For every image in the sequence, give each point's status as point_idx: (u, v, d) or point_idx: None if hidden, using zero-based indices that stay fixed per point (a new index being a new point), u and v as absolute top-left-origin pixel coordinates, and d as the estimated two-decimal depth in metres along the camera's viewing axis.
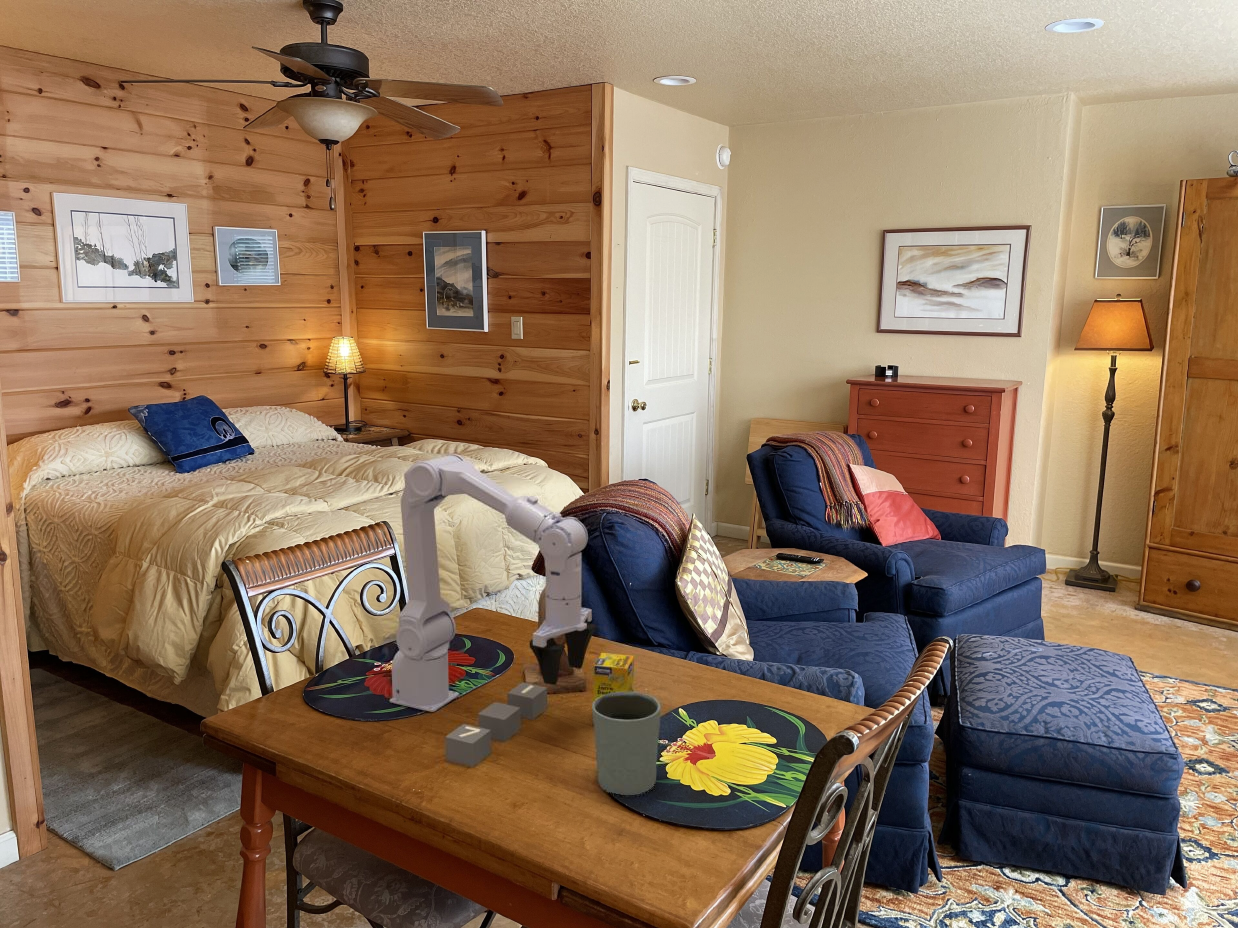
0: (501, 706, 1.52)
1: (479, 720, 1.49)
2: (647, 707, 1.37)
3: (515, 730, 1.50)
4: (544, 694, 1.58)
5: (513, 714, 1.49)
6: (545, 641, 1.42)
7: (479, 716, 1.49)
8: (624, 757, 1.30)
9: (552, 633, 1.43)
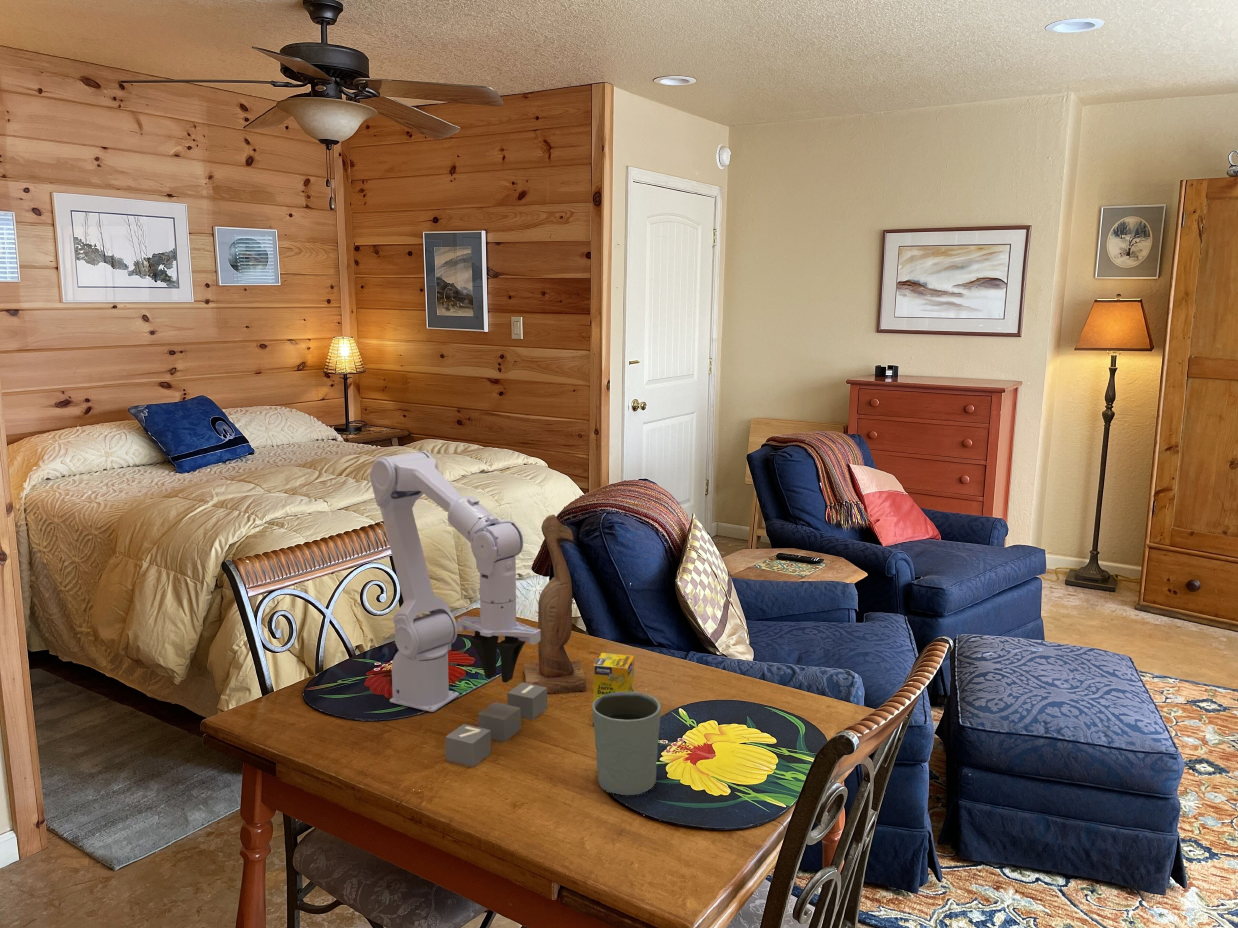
0: (501, 706, 1.52)
1: (479, 720, 1.49)
2: (647, 707, 1.37)
3: (515, 730, 1.50)
4: (544, 694, 1.58)
5: (513, 714, 1.49)
6: (460, 626, 1.49)
7: (479, 716, 1.49)
8: (624, 757, 1.30)
9: (466, 623, 1.48)
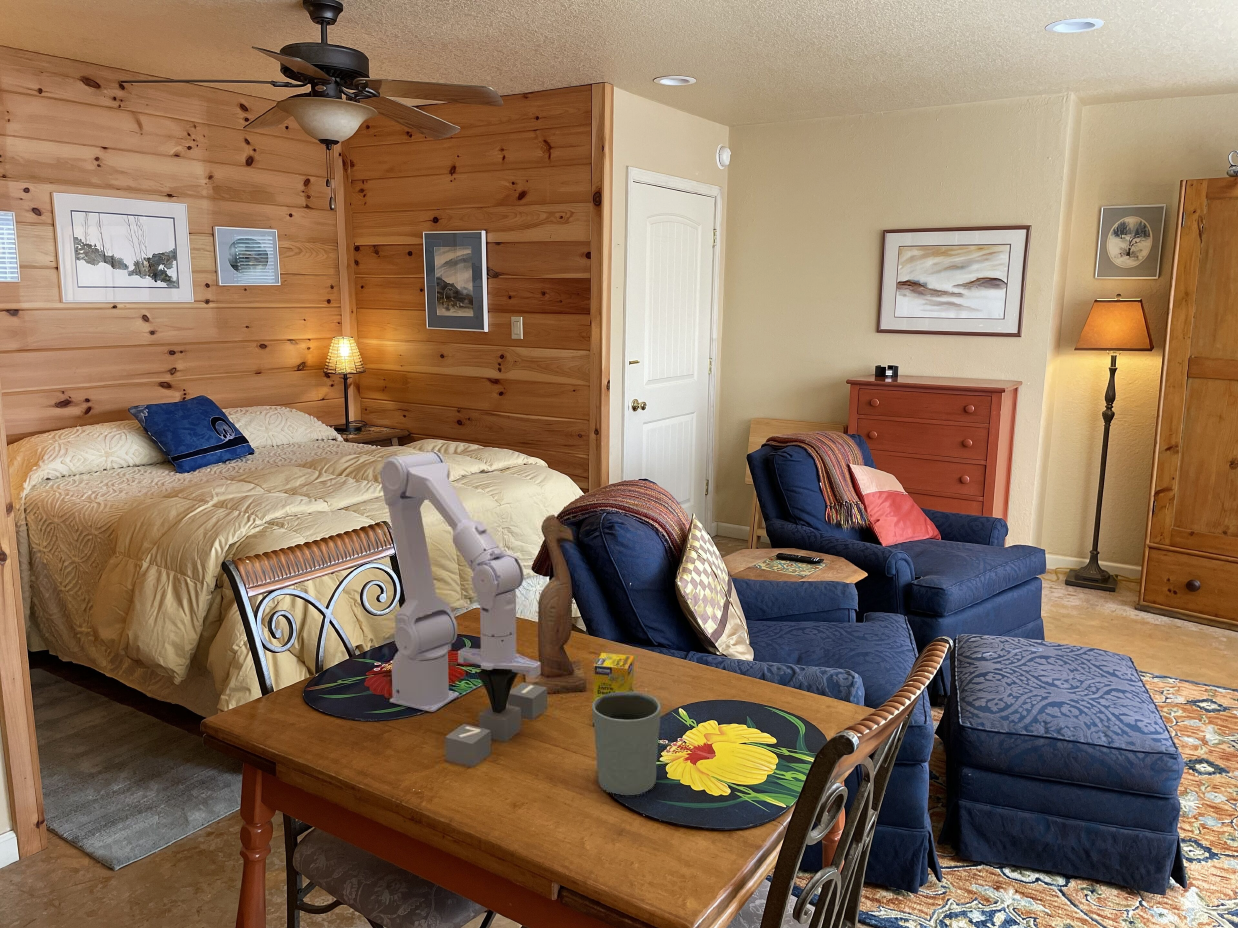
0: None
1: (480, 720, 1.49)
2: (647, 707, 1.37)
3: (515, 730, 1.50)
4: (544, 694, 1.58)
5: (514, 714, 1.49)
6: (461, 658, 1.50)
7: (480, 716, 1.49)
8: (624, 757, 1.30)
9: (466, 655, 1.49)
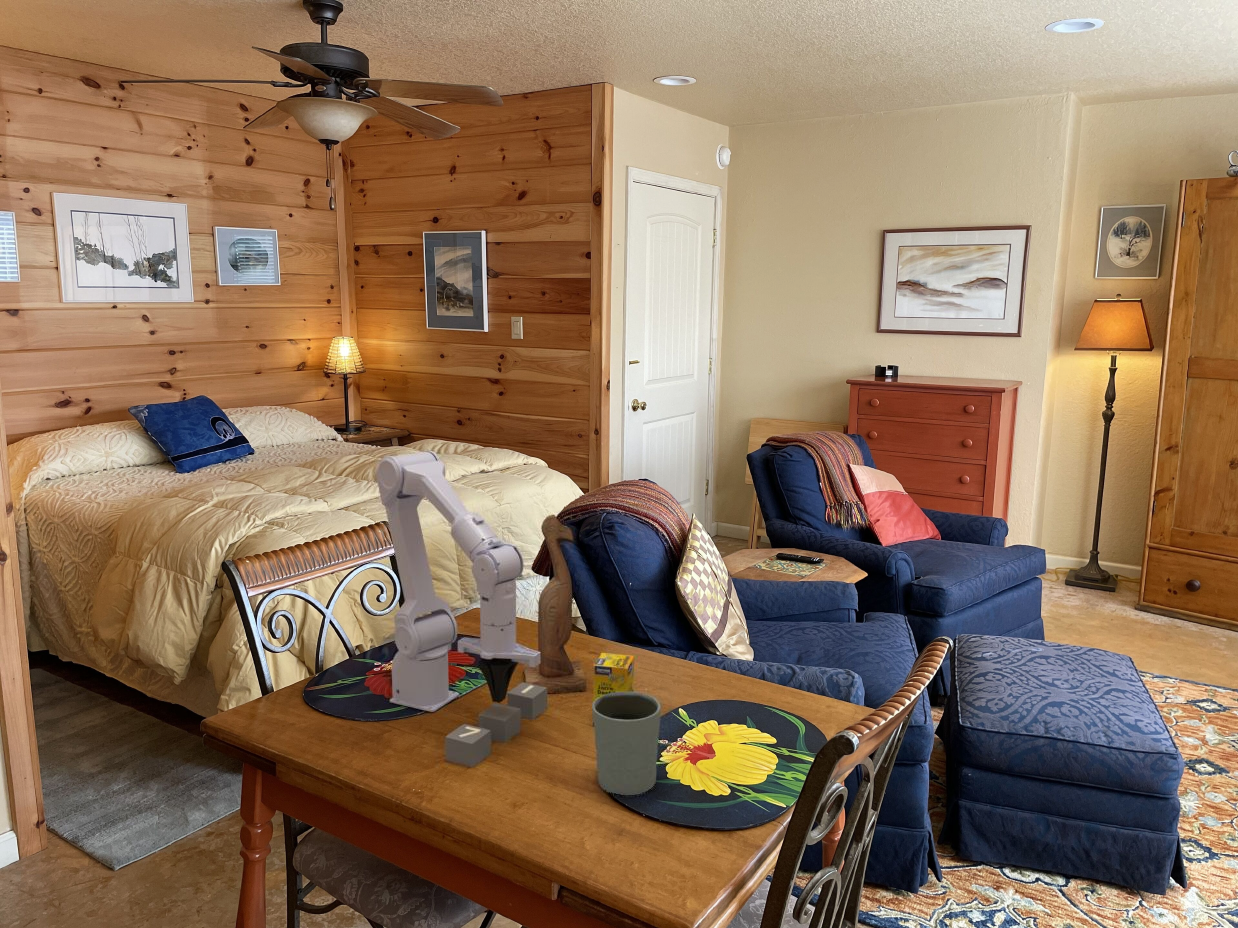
0: (501, 707, 1.51)
1: (479, 721, 1.48)
2: (647, 707, 1.37)
3: (515, 731, 1.50)
4: (544, 694, 1.58)
5: (514, 715, 1.49)
6: (460, 648, 1.50)
7: (479, 717, 1.48)
8: (624, 757, 1.30)
9: (466, 644, 1.49)
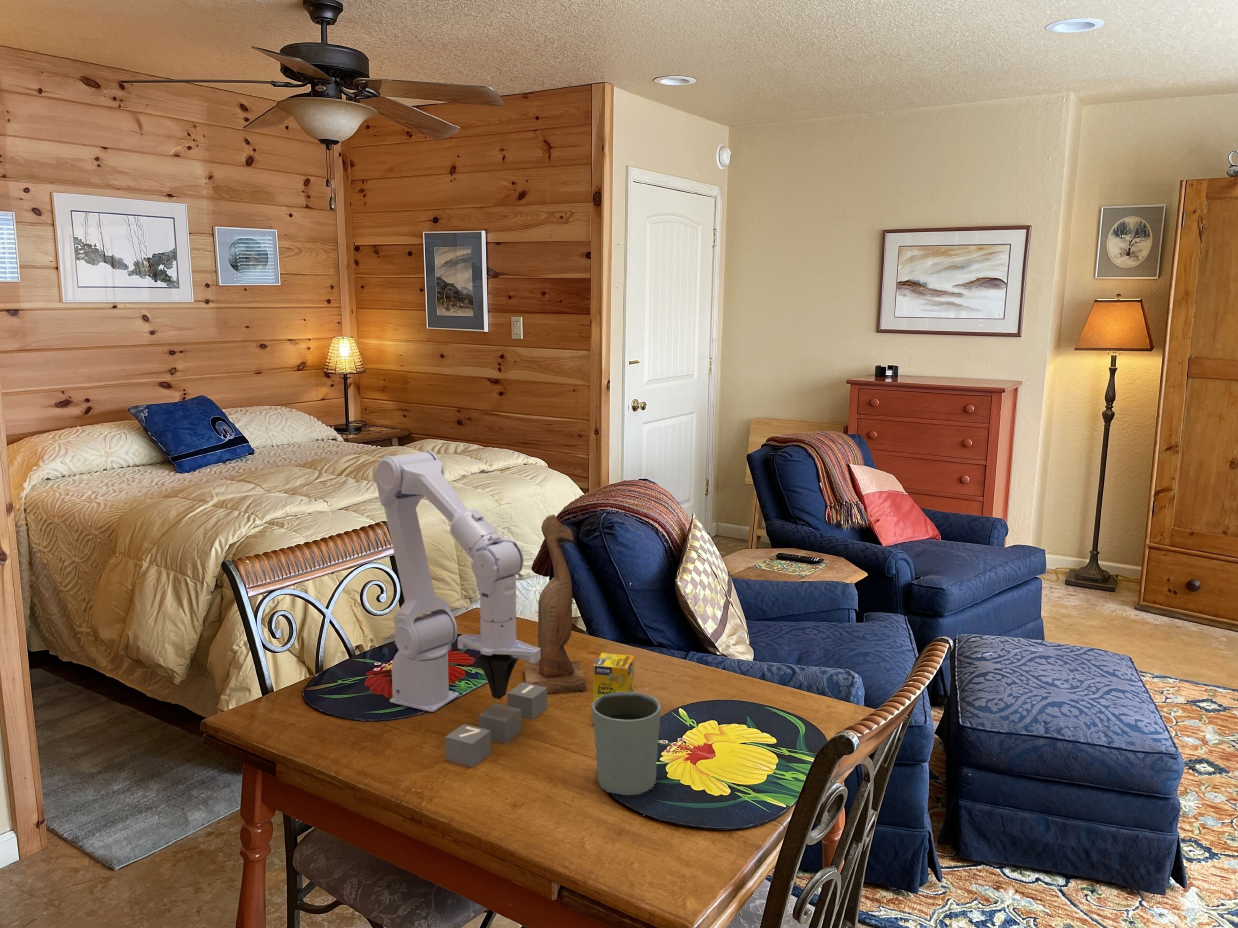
0: (501, 707, 1.51)
1: (480, 722, 1.48)
2: (647, 707, 1.37)
3: (516, 732, 1.50)
4: (544, 694, 1.58)
5: (514, 715, 1.49)
6: (460, 644, 1.50)
7: (480, 718, 1.48)
8: (624, 757, 1.30)
9: (466, 641, 1.49)
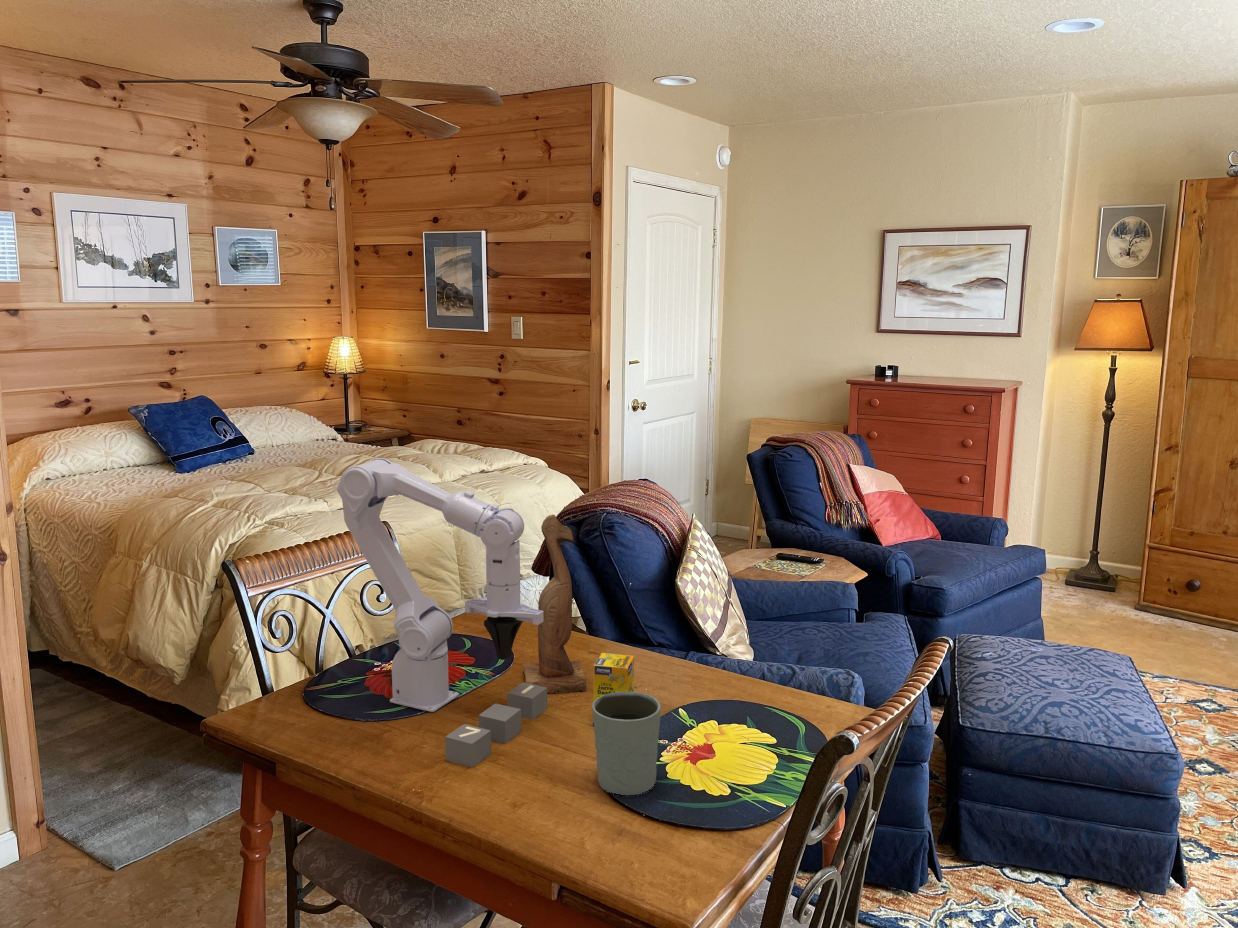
0: (501, 707, 1.51)
1: (480, 722, 1.48)
2: (647, 707, 1.37)
3: (516, 732, 1.50)
4: (544, 694, 1.58)
5: (514, 715, 1.49)
6: (467, 608, 1.58)
7: (480, 718, 1.48)
8: (624, 757, 1.30)
9: (473, 605, 1.57)
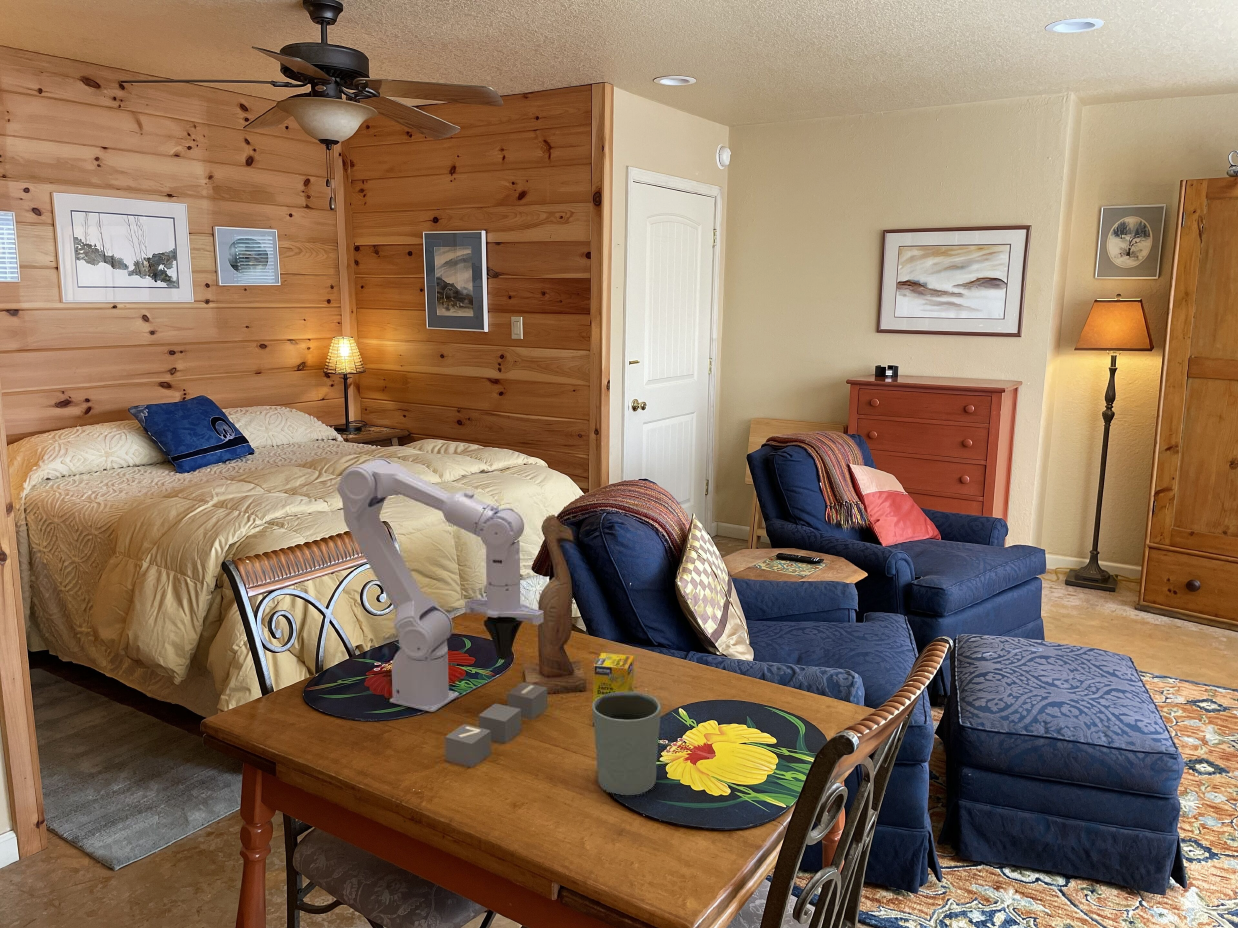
0: (501, 707, 1.51)
1: (480, 722, 1.48)
2: (647, 707, 1.37)
3: (516, 732, 1.50)
4: (544, 694, 1.58)
5: (514, 715, 1.49)
6: (467, 608, 1.58)
7: (480, 718, 1.48)
8: (624, 757, 1.30)
9: (473, 605, 1.57)
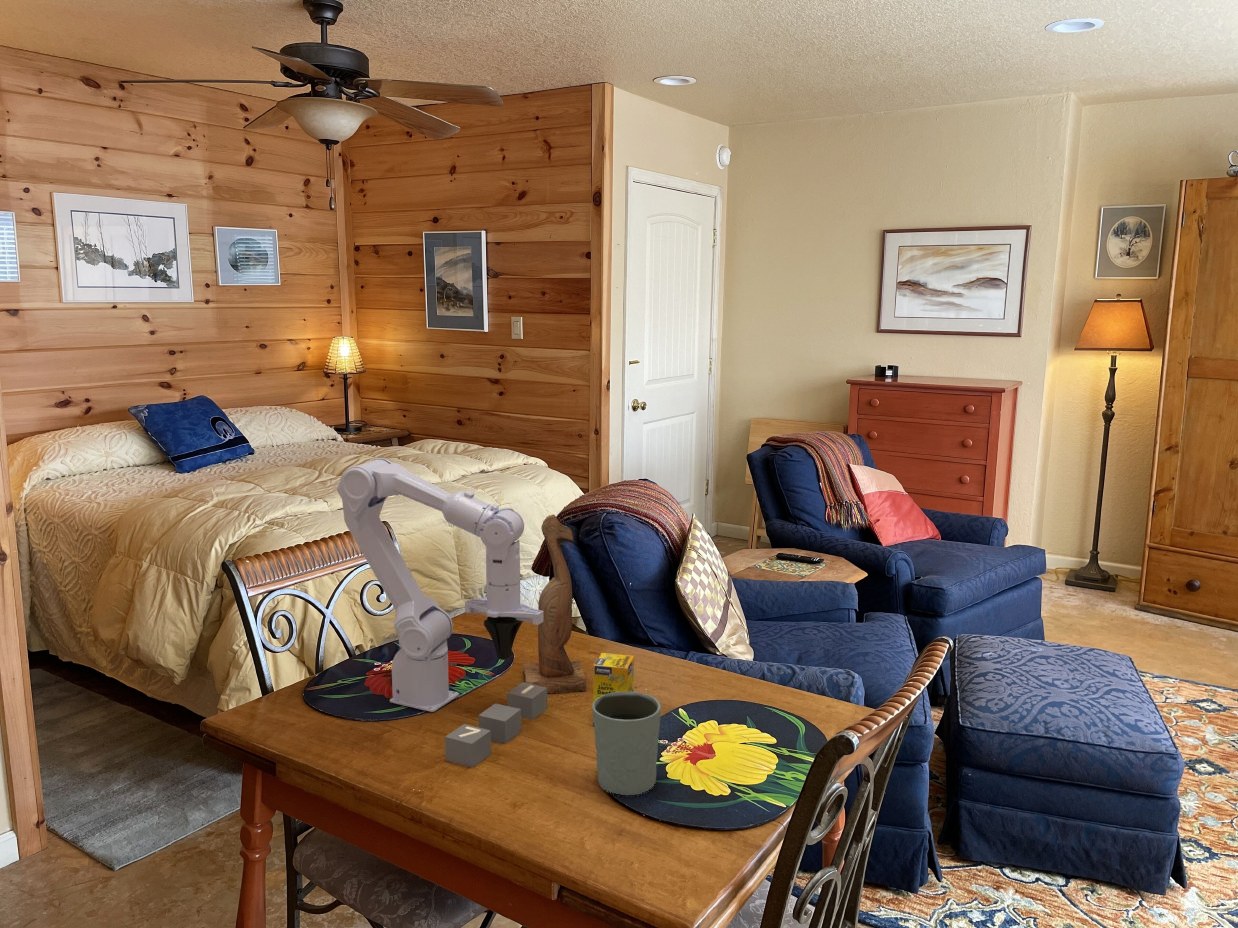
0: (501, 707, 1.51)
1: (480, 722, 1.48)
2: (647, 707, 1.37)
3: (516, 732, 1.50)
4: (544, 694, 1.58)
5: (514, 715, 1.49)
6: (467, 608, 1.58)
7: (480, 718, 1.48)
8: (624, 757, 1.30)
9: (473, 605, 1.57)
